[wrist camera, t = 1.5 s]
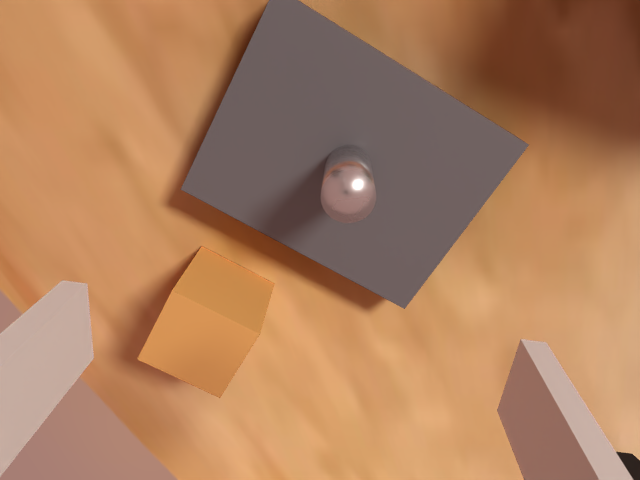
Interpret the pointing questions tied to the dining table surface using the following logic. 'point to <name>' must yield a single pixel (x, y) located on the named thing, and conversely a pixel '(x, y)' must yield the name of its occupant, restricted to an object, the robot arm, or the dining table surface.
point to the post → (348, 185)
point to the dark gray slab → (347, 129)
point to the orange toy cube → (208, 322)
